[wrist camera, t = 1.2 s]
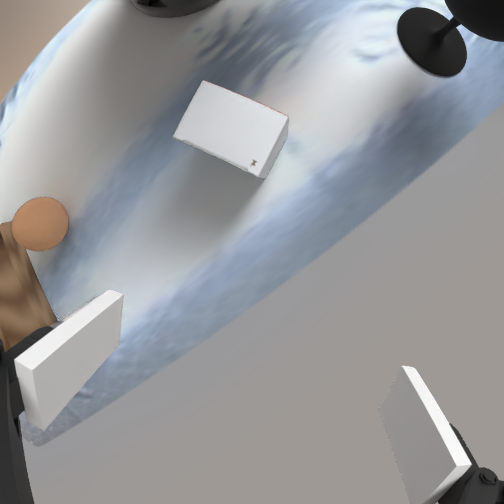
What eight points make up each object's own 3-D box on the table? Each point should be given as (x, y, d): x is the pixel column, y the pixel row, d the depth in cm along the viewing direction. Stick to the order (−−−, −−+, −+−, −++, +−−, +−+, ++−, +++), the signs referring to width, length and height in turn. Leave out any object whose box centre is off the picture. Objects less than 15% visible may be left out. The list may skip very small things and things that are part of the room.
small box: (288, 135, 34) (292, 116, 23) (265, 180, 35) (259, 179, 25) (223, 105, 33) (202, 77, 23) (200, 149, 35) (170, 137, 24)
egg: (83, 240, 38) (40, 255, 29) (48, 246, 39) (5, 261, 30) (75, 190, 37) (30, 194, 28) (40, 199, 37) (-5, 206, 28)
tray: (-29, 258, 41) (-40, 262, 38) (15, 220, 38) (2, 223, 35) (17, 358, 44) (7, 366, 41) (68, 341, 42) (57, 350, 39)
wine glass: (387, 47, 30) (462, -40, 11) (407, -5, 28) (470, -89, 8) (457, 91, 30) (562, 47, 11) (471, 36, 28) (557, -19, 8)
